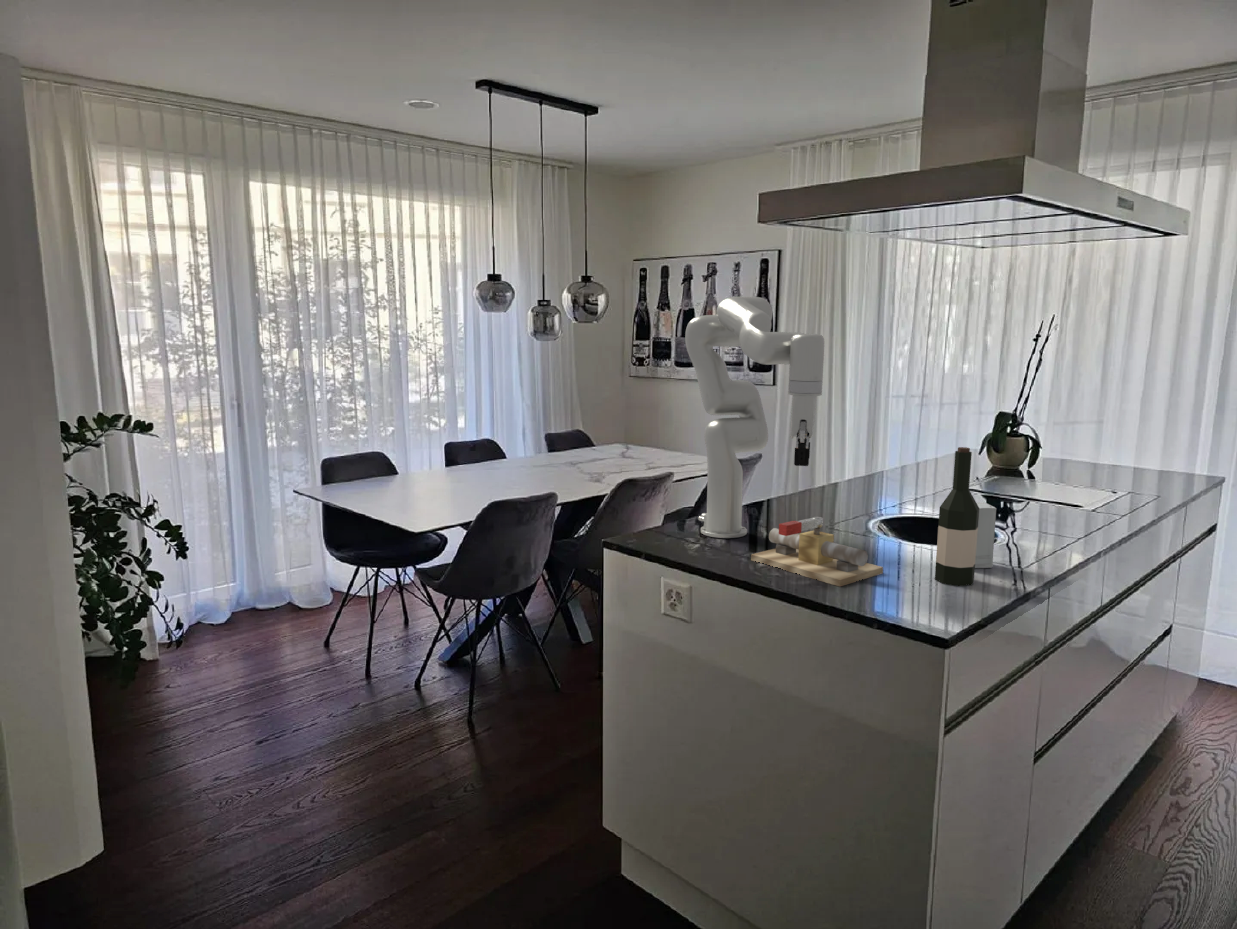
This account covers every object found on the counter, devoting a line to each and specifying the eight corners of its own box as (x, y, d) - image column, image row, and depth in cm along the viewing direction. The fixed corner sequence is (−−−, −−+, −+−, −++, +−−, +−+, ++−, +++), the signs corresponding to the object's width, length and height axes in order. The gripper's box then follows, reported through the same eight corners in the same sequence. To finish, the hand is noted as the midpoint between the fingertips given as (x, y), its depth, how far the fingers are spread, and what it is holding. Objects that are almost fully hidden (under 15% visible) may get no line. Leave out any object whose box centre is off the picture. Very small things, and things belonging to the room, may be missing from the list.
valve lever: (778, 533, 188) (778, 523, 188) (815, 525, 196) (816, 515, 196) (786, 536, 186) (787, 525, 186) (824, 527, 194) (825, 517, 194)
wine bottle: (960, 588, 180) (970, 451, 175) (926, 579, 187) (935, 447, 182) (981, 581, 185) (992, 448, 180) (948, 573, 191) (957, 444, 186)
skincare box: (981, 561, 201) (985, 501, 198) (993, 569, 195) (998, 507, 192) (947, 562, 200) (951, 502, 198) (958, 569, 194) (963, 507, 192)
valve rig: (751, 560, 201) (752, 522, 200) (794, 549, 211) (795, 513, 209) (839, 586, 181) (841, 544, 179) (882, 573, 191) (885, 533, 189)
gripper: (790, 385, 199) (787, 455, 202) (786, 391, 182) (783, 467, 185) (822, 385, 197) (818, 457, 200) (822, 391, 180) (818, 469, 183)
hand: (801, 462), depth 192 cm, fingers open, 9 cm apart
